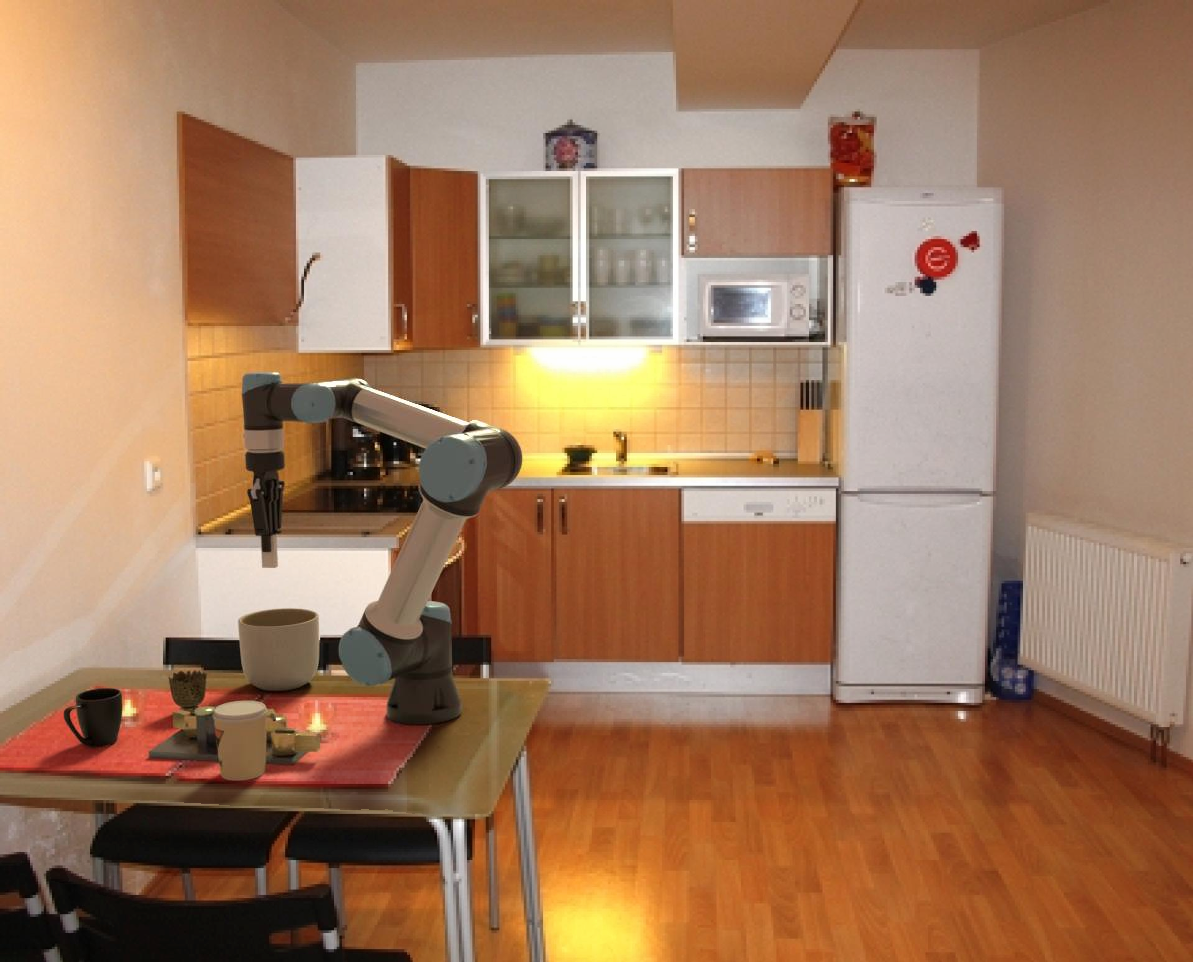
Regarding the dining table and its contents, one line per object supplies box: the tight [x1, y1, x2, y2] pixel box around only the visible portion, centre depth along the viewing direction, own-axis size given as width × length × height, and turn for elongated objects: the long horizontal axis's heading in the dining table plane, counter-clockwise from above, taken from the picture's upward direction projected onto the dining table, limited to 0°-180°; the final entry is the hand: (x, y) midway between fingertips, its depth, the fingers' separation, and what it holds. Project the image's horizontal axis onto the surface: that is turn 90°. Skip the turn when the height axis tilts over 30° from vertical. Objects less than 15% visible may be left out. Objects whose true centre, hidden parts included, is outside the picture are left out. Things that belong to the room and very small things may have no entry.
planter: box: [237, 607, 320, 692], centre depth 286 cm, size 17×17×15 cm
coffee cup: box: [213, 700, 268, 782], centre depth 233 cm, size 9×9×12 cm
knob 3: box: [271, 727, 321, 755], centre depth 240 cm, size 9×5×4 cm, turn 80°
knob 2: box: [266, 708, 288, 740], centre depth 250 cm, size 9×5×4 cm, turn 23°
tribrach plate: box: [148, 704, 322, 766], centre depth 246 cm, size 28×14×8 cm, turn 80°
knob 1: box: [172, 709, 197, 738], centre depth 252 cm, size 9×5×4 cm, turn 56°
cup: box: [168, 669, 208, 712], centre depth 268 cm, size 8×7×8 cm
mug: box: [63, 687, 123, 748], centre depth 249 cm, size 8×12×10 cm
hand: (270, 566), depth 263 cm, fingers closed
